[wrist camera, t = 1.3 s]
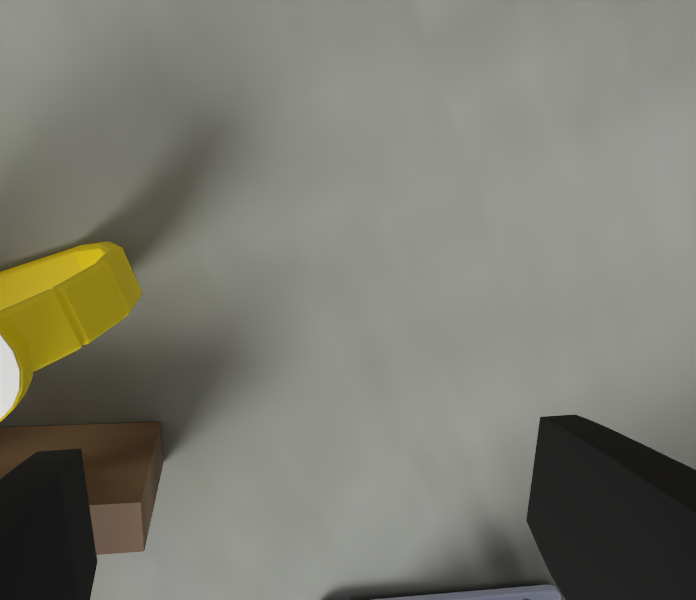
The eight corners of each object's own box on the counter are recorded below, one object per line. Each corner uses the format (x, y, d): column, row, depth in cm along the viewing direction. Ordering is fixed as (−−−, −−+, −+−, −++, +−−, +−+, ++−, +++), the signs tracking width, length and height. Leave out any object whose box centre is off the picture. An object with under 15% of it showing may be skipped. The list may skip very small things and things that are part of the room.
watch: (-26, 353, 18) (-169, 478, 12) (-76, 266, 17) (-256, 361, 11) (169, 292, 18) (113, 391, 12) (130, 202, 17) (50, 265, 11)
